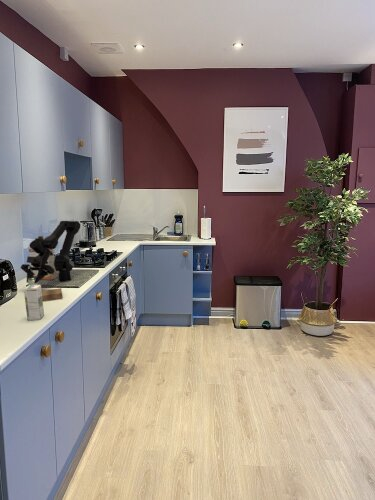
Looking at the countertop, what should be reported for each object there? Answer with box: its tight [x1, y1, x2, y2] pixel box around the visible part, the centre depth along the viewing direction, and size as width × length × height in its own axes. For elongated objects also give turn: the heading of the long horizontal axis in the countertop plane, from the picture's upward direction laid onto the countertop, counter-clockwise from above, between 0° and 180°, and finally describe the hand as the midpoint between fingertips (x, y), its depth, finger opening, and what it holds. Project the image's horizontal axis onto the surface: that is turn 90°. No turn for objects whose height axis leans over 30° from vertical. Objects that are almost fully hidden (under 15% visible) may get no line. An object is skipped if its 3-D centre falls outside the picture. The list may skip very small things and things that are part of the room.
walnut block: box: [41, 287, 63, 303], centre depth 198 cm, size 10×10×3 cm
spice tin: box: [26, 276, 39, 286], centre depth 206 cm, size 5×5×9 cm
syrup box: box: [23, 284, 45, 321], centre depth 168 cm, size 6×6×14 cm
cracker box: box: [28, 246, 57, 281], centre depth 237 cm, size 14×6×21 cm, turn 71°
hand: (31, 282), depth 205 cm, fingers closed on spice tin, 5 cm apart
